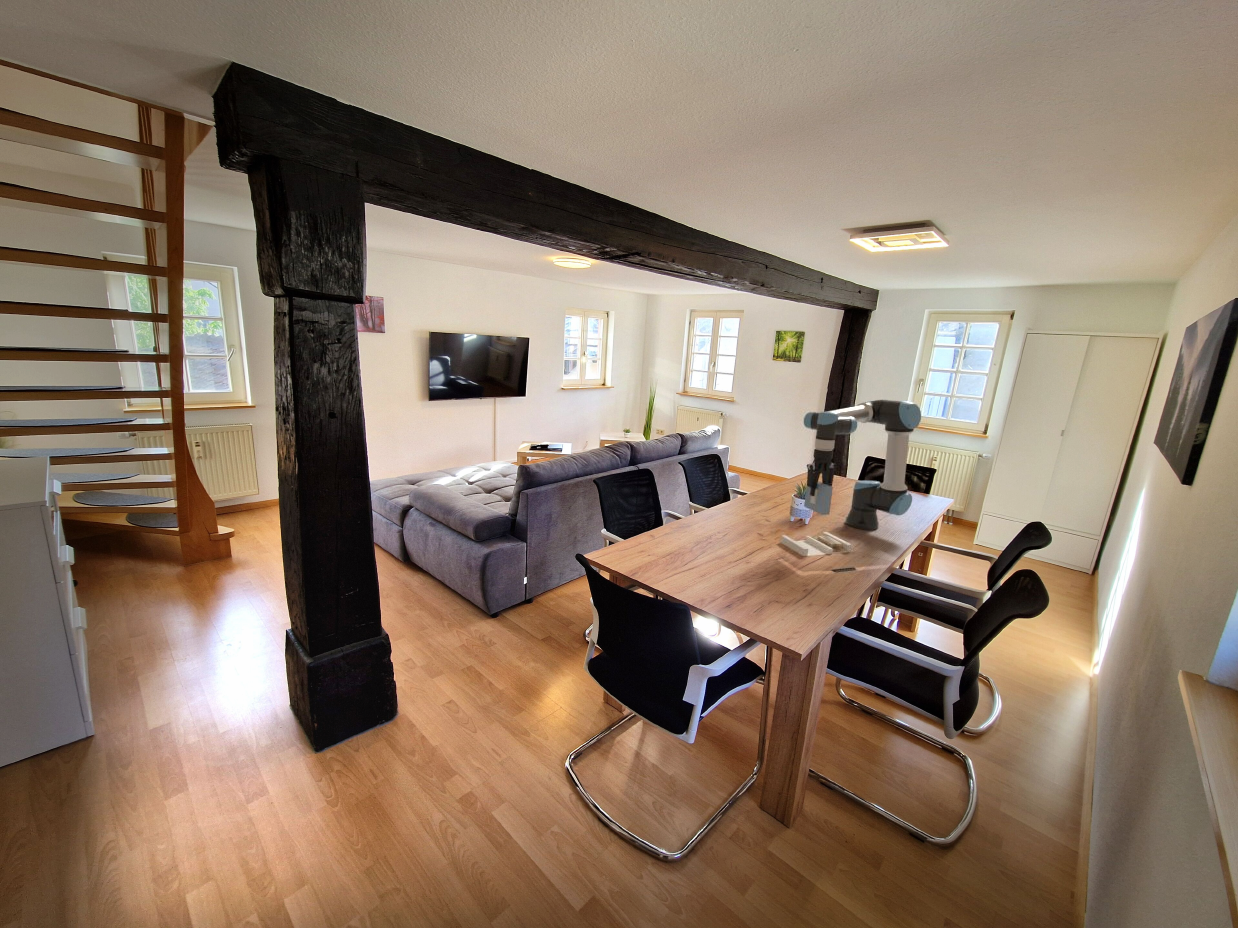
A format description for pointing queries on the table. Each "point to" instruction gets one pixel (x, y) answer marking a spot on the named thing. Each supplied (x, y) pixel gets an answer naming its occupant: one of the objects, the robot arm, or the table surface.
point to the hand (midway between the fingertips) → (817, 502)
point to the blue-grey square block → (819, 499)
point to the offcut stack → (830, 543)
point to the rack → (813, 545)
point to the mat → (844, 570)
